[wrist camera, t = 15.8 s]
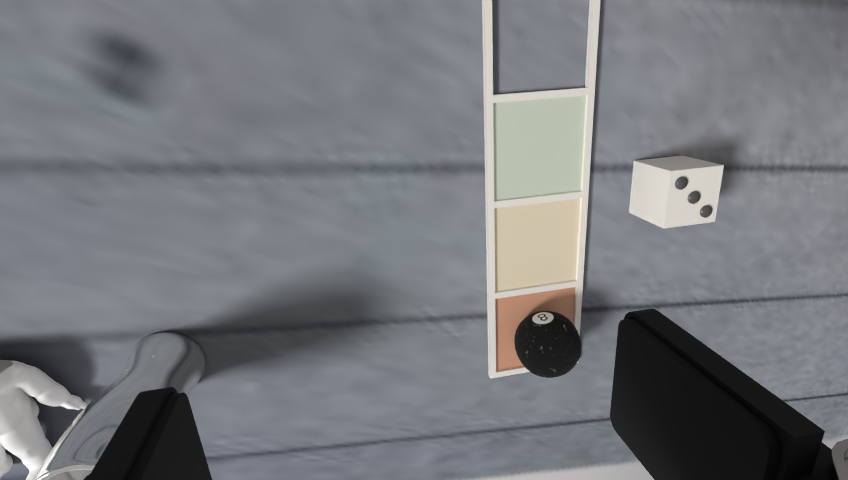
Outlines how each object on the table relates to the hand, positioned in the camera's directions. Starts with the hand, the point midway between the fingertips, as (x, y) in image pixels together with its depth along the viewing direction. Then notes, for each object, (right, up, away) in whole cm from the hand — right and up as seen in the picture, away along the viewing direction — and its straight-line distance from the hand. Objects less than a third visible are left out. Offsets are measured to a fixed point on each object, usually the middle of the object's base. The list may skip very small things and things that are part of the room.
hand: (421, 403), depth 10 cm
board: (+10, +7, +32) cm, 35 cm away
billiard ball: (+11, -5, +37) cm, 39 cm away
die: (+22, +9, +34) cm, 42 cm away
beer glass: (-22, -7, +31) cm, 39 cm away
